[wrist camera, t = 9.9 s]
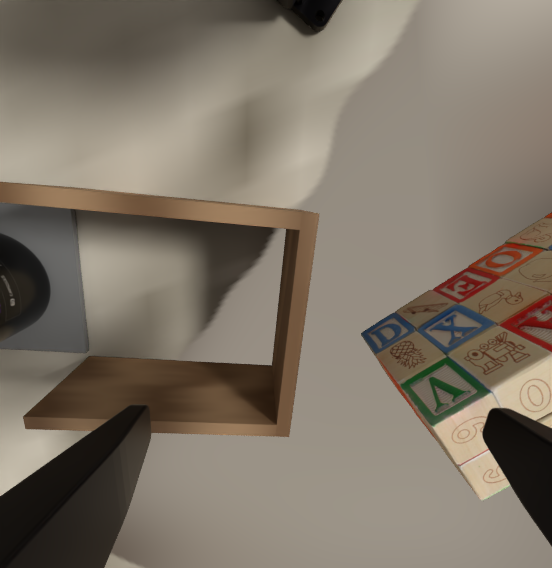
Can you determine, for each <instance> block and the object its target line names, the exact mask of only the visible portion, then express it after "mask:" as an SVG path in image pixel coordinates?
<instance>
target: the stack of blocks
mask: <svg viewBox="0 0 552 568" xmlns="http://www.w3.org/2000/svg"><path fill="white" fill-rule="evenodd" d="M361 335H362V337H363V338H364V340H365V341H366V343H367V344H368V346H369V347H370V349H371V350H372V352H373V353H374V355H375V356H376V358H377V359H378V361H379V363H380V364H381V366H382V368H383V369H384V370H385V372H386V374H387V375H388V377H389V378H390V379H391V381H392V382H393V384H394V385H395V386H396V388H397V389H398V391H399V392H400V393H401V395H402V396H403V397H404V398H405V400H406V401H407V402H408V403H409V405H410V406H411V407H412V409H413V410H414V412H415V413H416V415H417V416H418V417H419V419H420V420H421V421H422V423H423V424H424V425H425V426H426V427H427V429H428V430H429V432H430V433H431V434H432V436H433V437H434V438H435V439H436V441H437V442H438V443H439V444H440V446H441V447H442V449H443V450H444V452H445V453H446V455H447V456H448V457H449V459H450V460H451V461H452V463H453V464H454V465H455V467H456V468H457V469H458V471H459V472H460V473H461V475H462V476H463V477H464V479H465V480H466V482H467V483H468V484H469V486H470V487H471V488H472V490H473V491H474V492H475V494H476V495H477V496H478V498H479V499H480V500H485V499H487V498H489V497H490V496H492V495H494V494H495V493H498V492H499V491H501V490H503V489H505V488H507V487H509V486H510V484H509V482H508V480H507V479H506V477H505V475H504V474H503V472H502V470H501V469H500V467H499V465H498V464H497V462H496V460H495V459H494V457H493V456H492V454H491V452H490V451H489V449H488V447H487V446H486V444H485V442H484V440H483V436H482V431H483V428H484V425H485V422H486V419H487V416H488V413H489V411H490V410H491V409H492V408H509V409H512V410H514V411H516V412H518V413H520V414H522V415H524V416H527V417H529V418H531V419H533V420H535V421H537V422H539V423H542V424H544V425H546V426H548V427H550V428H552V213H550V214H548V215H547V216H545V217H544V218H542V219H541V220H538V221H537V222H535V223H533V224H532V225H530V226H529V227H527V228H525V229H524V230H522V231H521V232H519V233H517V234H516V235H514V236H513V237H511V238H510V239H508V240H507V241H506V242H505V244H503V245H502V246H500V247H497V248H496V249H495V250H493V251H492V252H491V253H489V254H487V255H486V256H484V257H482V258H481V259H479V260H477V261H476V262H474V263H473V264H471V265H470V266H469V267H468V268H467V269H464V270H463V271H461V272H460V273H458V274H456V275H455V276H453V277H451V278H450V279H448V280H447V281H445V282H444V283H442V284H440V285H439V286H437V287H435V288H434V289H433V290H429V291H427V292H425V293H424V294H422V295H421V296H419V297H418V298H416V299H414V300H413V301H411V302H409V303H408V304H406V305H405V306H403V307H401V308H400V309H398V310H397V311H396V312H395V313H392V314H390V315H389V316H387V317H386V318H384V319H382V320H381V321H379V322H378V323H376V324H375V325H373V326H371V327H370V328H368V329H367V330H365V331H364V332H363V333H361Z"/></svg>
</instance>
